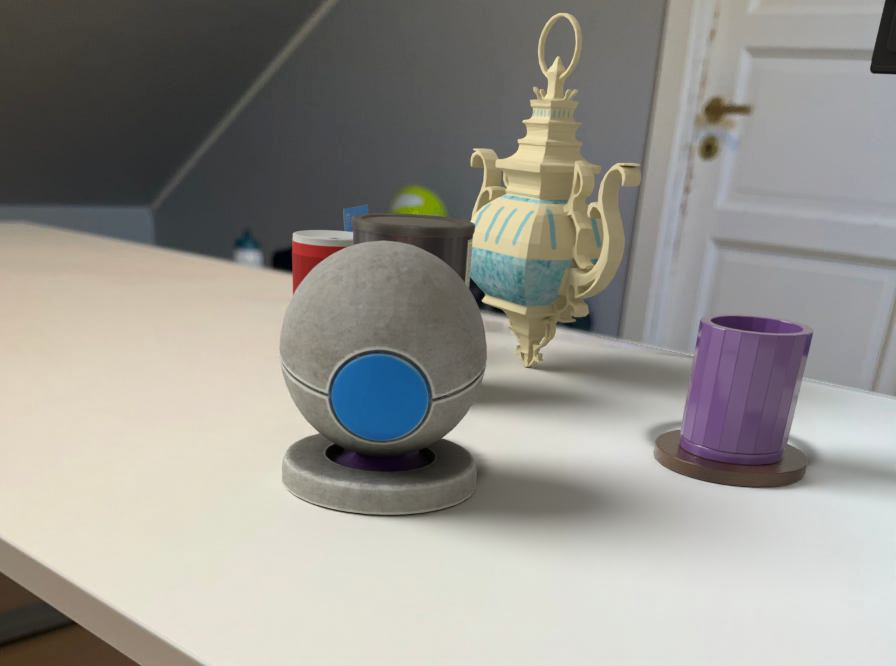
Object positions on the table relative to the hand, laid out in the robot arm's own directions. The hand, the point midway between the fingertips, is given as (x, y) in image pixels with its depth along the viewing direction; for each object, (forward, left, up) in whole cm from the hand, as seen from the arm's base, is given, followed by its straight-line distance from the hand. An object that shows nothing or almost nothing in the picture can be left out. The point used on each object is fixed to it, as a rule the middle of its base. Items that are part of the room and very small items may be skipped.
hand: (892, 70), depth 72 cm
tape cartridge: (+50, -18, -26) cm, 59 cm away
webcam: (+26, +33, -26) cm, 50 cm away
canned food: (+47, -2, -26) cm, 54 cm away
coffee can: (+34, +9, -26) cm, 44 cm away
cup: (+5, +16, -25) cm, 30 cm away
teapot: (+27, -6, -26) cm, 38 cm away
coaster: (+5, +16, -26) cm, 31 cm away
